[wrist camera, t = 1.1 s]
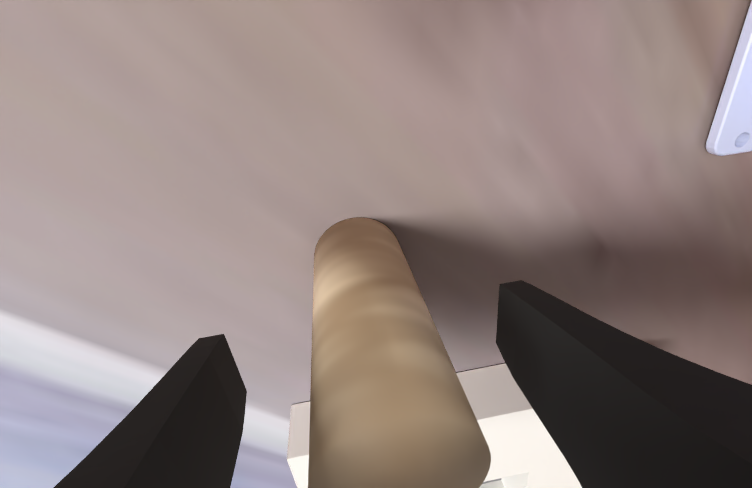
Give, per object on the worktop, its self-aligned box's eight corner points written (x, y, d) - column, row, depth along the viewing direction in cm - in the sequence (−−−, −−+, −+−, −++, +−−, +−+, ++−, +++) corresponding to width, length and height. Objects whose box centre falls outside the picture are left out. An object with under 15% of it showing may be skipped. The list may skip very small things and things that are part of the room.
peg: (396, 210, 13) (495, 399, 6) (403, 285, 14) (487, 510, 7) (306, 225, 12) (288, 440, 5) (322, 299, 14) (326, 545, 7)
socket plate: (620, 341, 17) (663, 381, 15) (576, 498, 24) (602, 542, 22) (291, 404, 16) (286, 459, 14) (339, 552, 23) (341, 605, 20)
